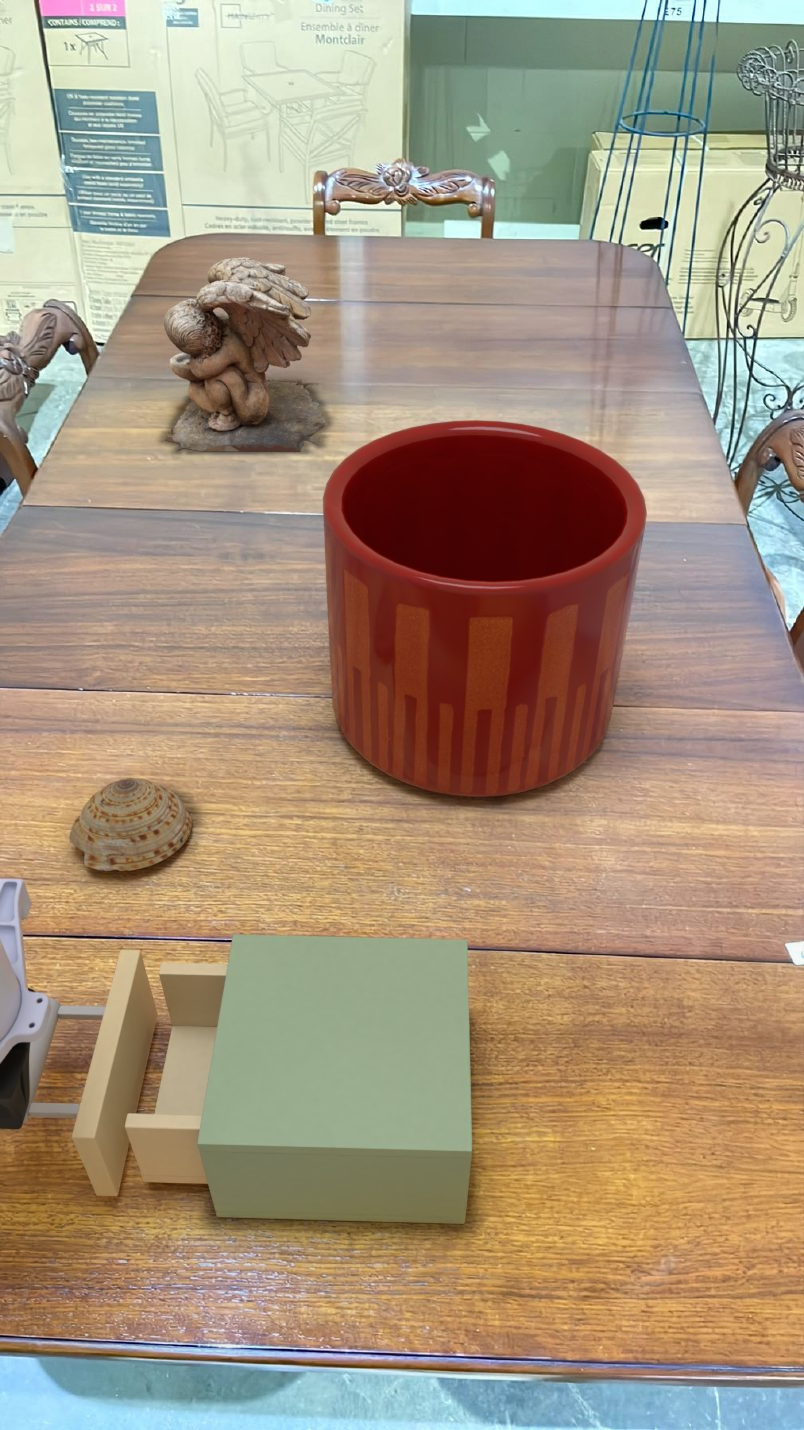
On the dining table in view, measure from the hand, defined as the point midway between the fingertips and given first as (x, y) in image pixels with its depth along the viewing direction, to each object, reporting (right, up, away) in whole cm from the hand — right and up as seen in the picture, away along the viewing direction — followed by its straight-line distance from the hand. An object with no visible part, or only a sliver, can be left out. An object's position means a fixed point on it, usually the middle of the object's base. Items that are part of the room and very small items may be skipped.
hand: (4, 1115), depth 52 cm
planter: (+25, +20, +38) cm, 50 cm away
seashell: (0, +10, +27) cm, 29 cm away
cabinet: (+16, -4, +11) cm, 20 cm away
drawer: (+6, -3, +11) cm, 13 cm away
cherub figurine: (+1, +55, +76) cm, 94 cm away
